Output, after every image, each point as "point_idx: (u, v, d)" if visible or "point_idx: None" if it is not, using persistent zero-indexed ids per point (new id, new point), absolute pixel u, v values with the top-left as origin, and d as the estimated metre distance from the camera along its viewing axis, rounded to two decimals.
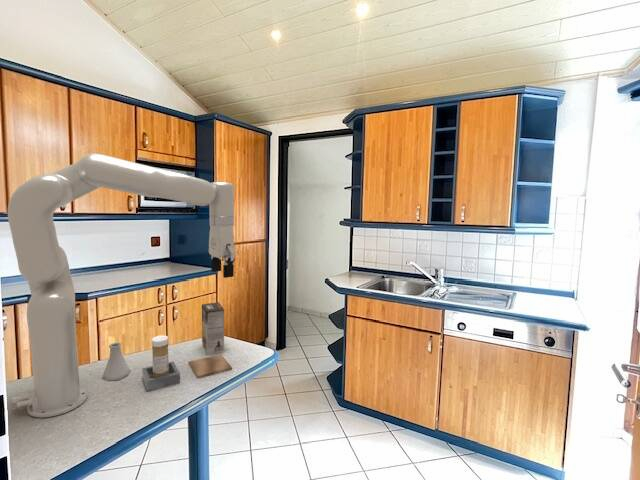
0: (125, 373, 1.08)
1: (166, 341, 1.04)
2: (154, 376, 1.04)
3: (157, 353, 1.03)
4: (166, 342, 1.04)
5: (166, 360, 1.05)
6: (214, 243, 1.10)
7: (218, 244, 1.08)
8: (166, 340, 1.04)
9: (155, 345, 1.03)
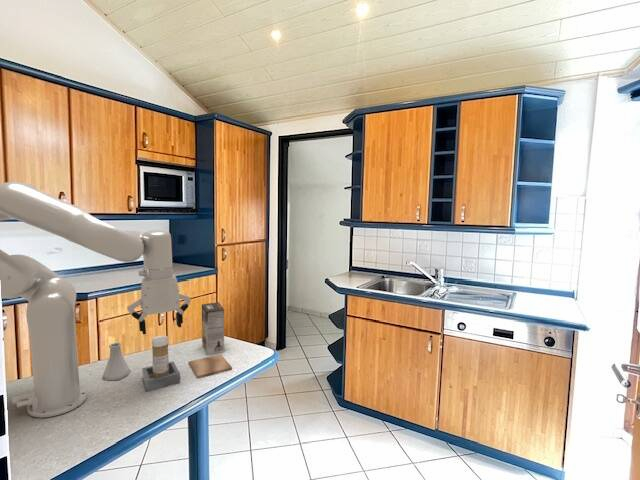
0: (125, 373, 1.08)
1: (166, 341, 1.04)
2: (154, 376, 1.04)
3: (157, 353, 1.03)
4: (166, 342, 1.04)
5: (166, 360, 1.05)
6: (165, 297, 1.01)
7: (175, 296, 1.03)
8: (166, 340, 1.04)
9: (155, 345, 1.03)
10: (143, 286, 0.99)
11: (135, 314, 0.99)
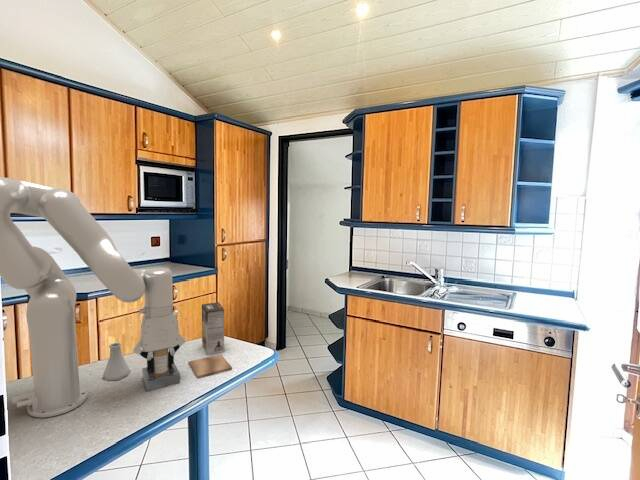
0: (125, 373, 1.08)
1: None
2: (154, 376, 1.04)
3: (157, 353, 1.03)
4: None
5: (166, 360, 1.05)
6: (164, 335, 1.03)
7: (174, 332, 1.04)
8: None
9: None
10: (143, 324, 1.00)
11: (144, 353, 1.02)
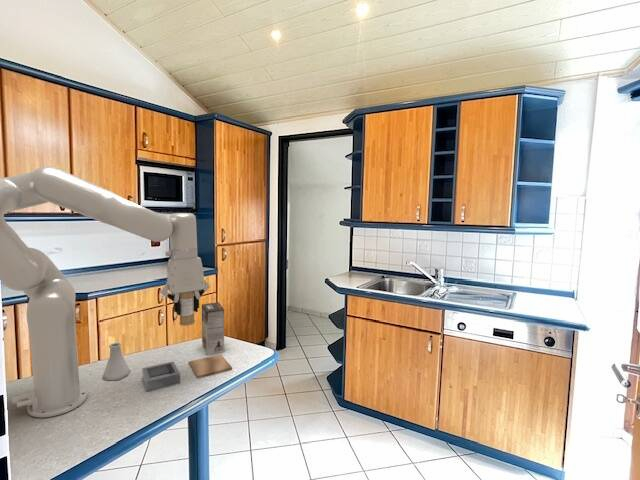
0: (125, 373, 1.08)
1: None
2: (181, 319, 1.07)
3: (183, 296, 1.06)
4: None
5: (192, 303, 1.08)
6: (190, 277, 1.05)
7: (199, 276, 1.07)
8: None
9: None
10: (170, 266, 1.02)
11: (171, 296, 1.05)
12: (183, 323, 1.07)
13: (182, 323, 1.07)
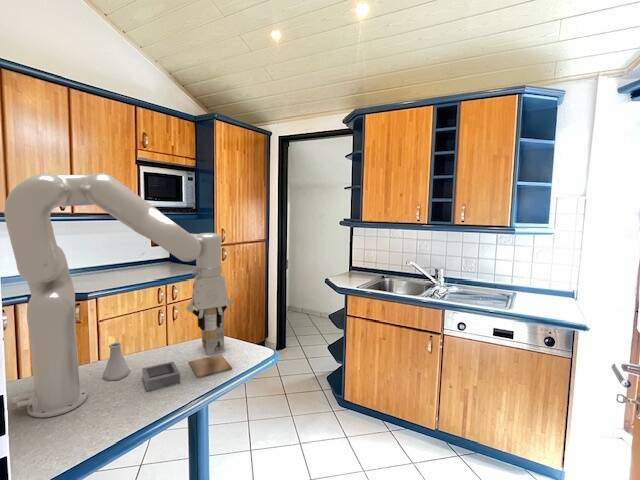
0: (125, 373, 1.08)
1: None
2: (204, 333, 1.12)
3: (207, 312, 1.11)
4: None
5: (215, 319, 1.13)
6: (214, 294, 1.11)
7: (223, 293, 1.12)
8: None
9: None
10: (196, 284, 1.08)
11: (196, 312, 1.10)
12: (206, 338, 1.12)
13: (205, 338, 1.12)
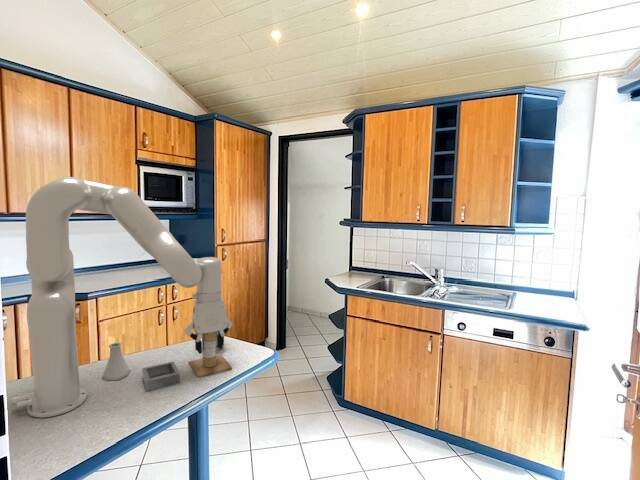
0: (125, 373, 1.08)
1: None
2: (204, 360, 1.13)
3: (207, 339, 1.12)
4: None
5: (215, 346, 1.14)
6: (214, 318, 1.11)
7: (223, 317, 1.13)
8: None
9: None
10: (196, 308, 1.09)
11: (193, 335, 1.10)
12: (206, 364, 1.13)
13: (205, 364, 1.13)
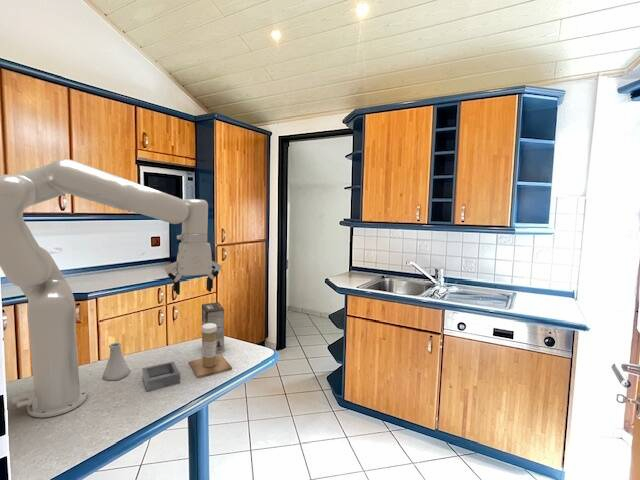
0: (125, 373, 1.08)
1: (215, 328, 1.13)
2: (204, 360, 1.13)
3: (207, 339, 1.12)
4: (215, 329, 1.13)
5: (215, 346, 1.14)
6: (199, 261, 1.09)
7: (208, 261, 1.11)
8: (215, 327, 1.13)
9: (205, 332, 1.12)
10: (180, 249, 1.06)
11: (171, 275, 1.07)
12: (206, 364, 1.13)
13: (205, 364, 1.13)
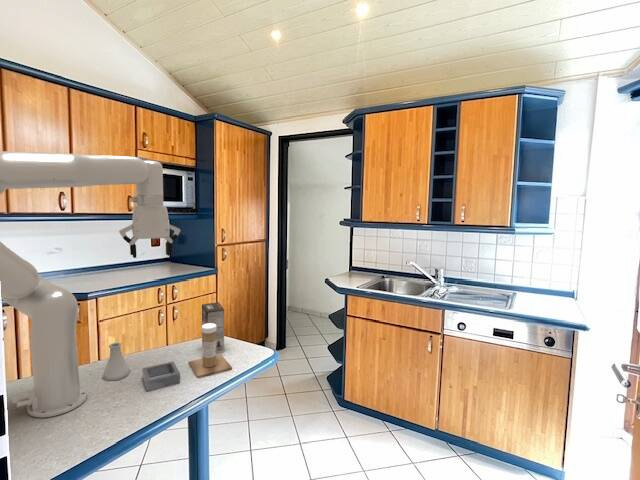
0: (125, 373, 1.08)
1: (215, 328, 1.13)
2: (204, 360, 1.13)
3: (207, 339, 1.12)
4: (215, 329, 1.13)
5: (215, 346, 1.14)
6: (155, 224, 1.08)
7: (165, 223, 1.09)
8: (215, 327, 1.13)
9: (205, 332, 1.12)
10: (135, 211, 1.05)
11: (126, 237, 1.06)
12: (206, 364, 1.13)
13: (205, 364, 1.13)
